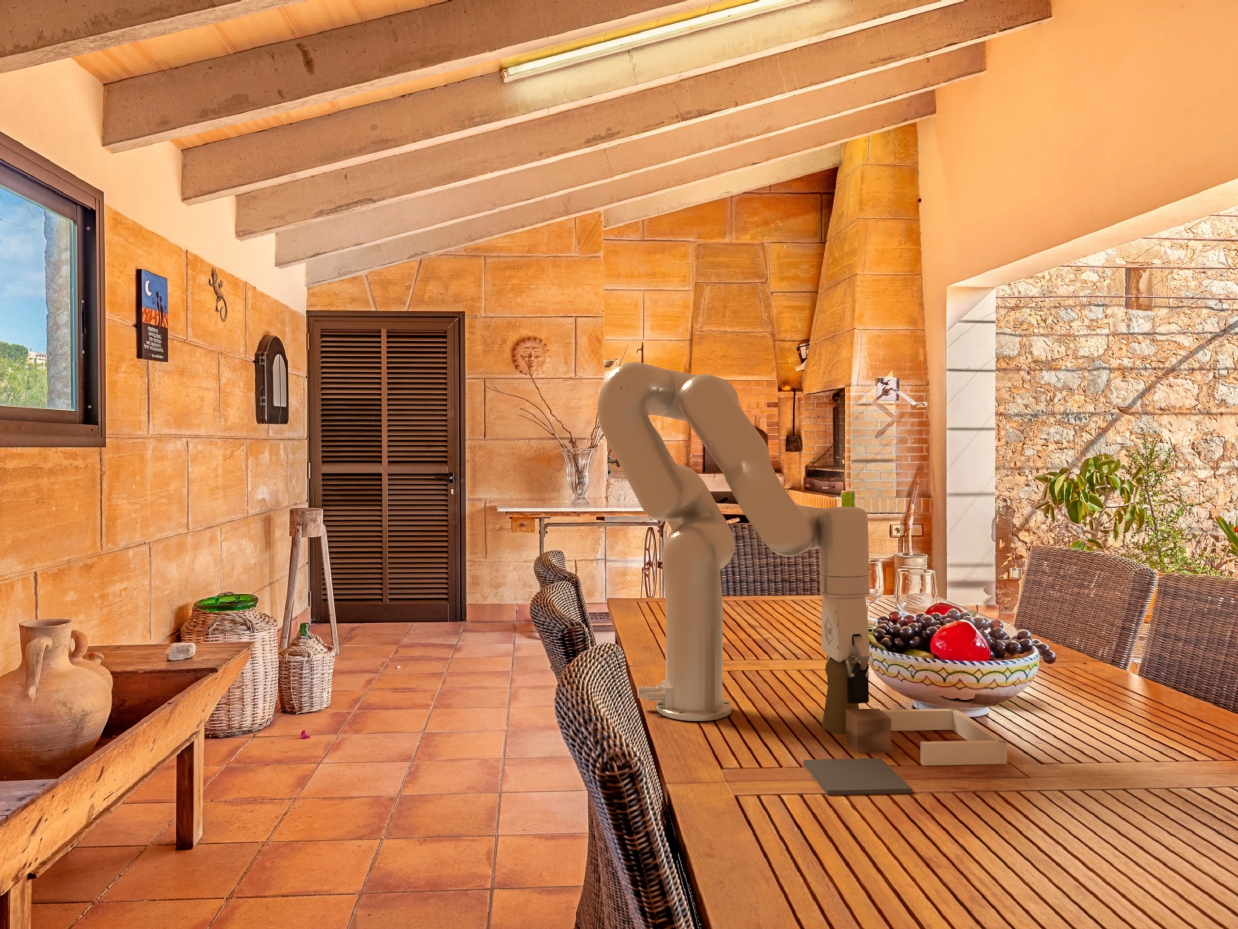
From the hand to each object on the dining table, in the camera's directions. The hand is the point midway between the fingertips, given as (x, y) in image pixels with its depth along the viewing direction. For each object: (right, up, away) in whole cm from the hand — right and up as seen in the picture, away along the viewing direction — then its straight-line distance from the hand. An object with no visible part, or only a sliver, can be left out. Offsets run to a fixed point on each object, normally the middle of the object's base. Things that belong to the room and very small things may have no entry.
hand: (847, 694), depth 139 cm
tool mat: (-4, -6, -21) cm, 22 cm away
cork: (-1, -6, 0) cm, 6 cm away
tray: (+11, -6, -8) cm, 15 cm away
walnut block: (+1, -6, -9) cm, 10 cm away
